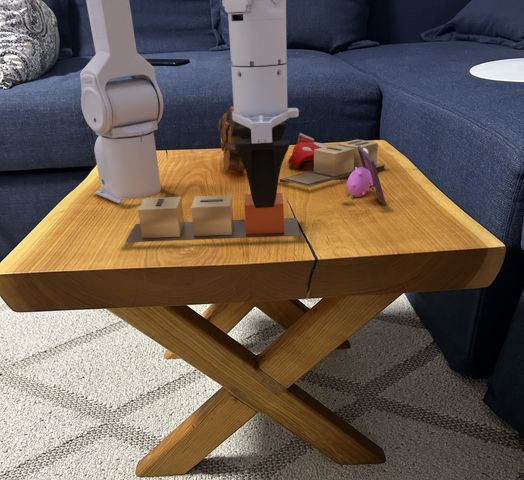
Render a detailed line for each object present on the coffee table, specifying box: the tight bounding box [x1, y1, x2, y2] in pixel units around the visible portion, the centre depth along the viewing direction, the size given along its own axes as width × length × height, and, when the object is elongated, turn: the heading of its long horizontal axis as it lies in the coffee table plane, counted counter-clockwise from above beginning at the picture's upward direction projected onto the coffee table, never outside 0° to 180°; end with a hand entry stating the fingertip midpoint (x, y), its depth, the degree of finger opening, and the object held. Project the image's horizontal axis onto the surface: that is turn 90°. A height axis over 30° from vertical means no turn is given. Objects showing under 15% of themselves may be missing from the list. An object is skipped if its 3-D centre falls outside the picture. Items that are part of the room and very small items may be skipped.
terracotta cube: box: [243, 192, 285, 234], centre depth 65 cm, size 4×4×4 cm
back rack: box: [279, 139, 385, 188], centre depth 86 cm, size 17×6×4 cm, turn 131°
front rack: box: [125, 194, 301, 243], centre depth 65 cm, size 20×6×4 cm, turn 91°
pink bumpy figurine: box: [345, 146, 387, 207], centre depth 74 cm, size 7×5×9 cm
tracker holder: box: [288, 132, 329, 169], centre depth 95 cm, size 12×4×10 cm
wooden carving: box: [217, 105, 245, 174], centre depth 91 cm, size 16×5×10 cm, turn 13°
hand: (264, 196), depth 64 cm, fingers open, 7 cm apart
